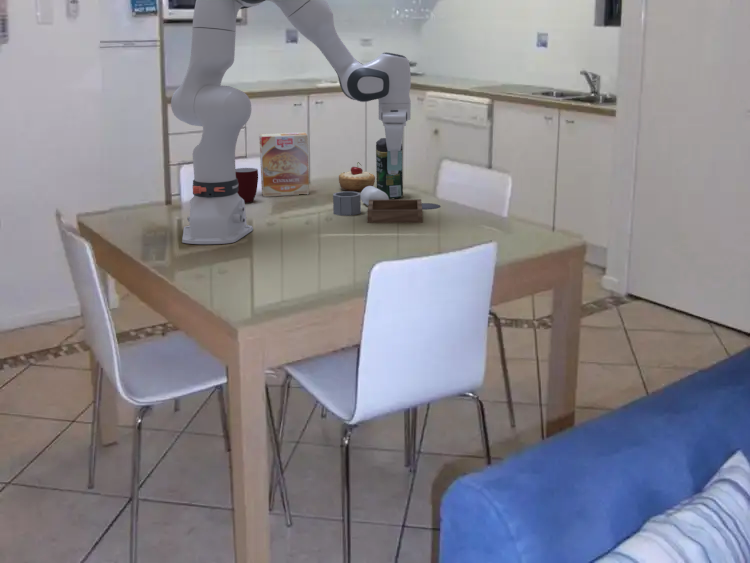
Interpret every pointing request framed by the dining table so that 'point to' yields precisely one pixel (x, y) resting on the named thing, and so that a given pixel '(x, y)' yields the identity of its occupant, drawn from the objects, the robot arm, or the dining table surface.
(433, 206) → the coaster
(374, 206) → the walnut box
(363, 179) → the pastry
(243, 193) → the mug
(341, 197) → the stoneware cup
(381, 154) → the coffee jar
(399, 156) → the block
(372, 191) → the white rounded lump
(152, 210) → the dining table surface
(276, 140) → the coffeecake box
